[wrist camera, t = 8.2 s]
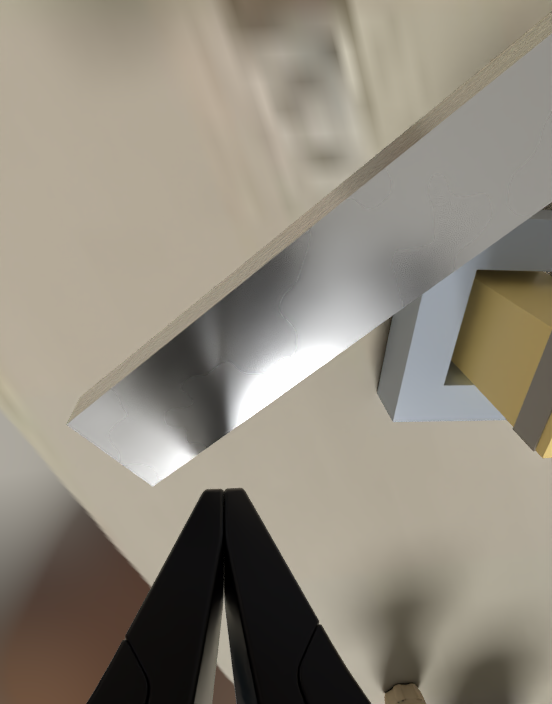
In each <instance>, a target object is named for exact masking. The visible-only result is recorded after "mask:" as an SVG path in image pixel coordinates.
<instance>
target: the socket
mask: <svg viewBox="0 0 552 704" xmlns="http://www.w3.org/2000/svg"><path fill="white" fill-rule="evenodd" d="M477 270H510V271H546V272H552V210H540V211H539V212H537V213H536V214H534V215H533V216H532V217H530V218H529V219H527V220H526V221H525V222H523V223H522V224H520V225H519V226H518V227H516V228H515V229H513V230H512V231H511V232H509V233H508V234H506V235H505V236H504V237H502V238H501V239H499V240H498V241H497V242H495V243H494V244H492V245H491V246H490V247H488V248H487V249H485V250H484V251H483V252H481V253H480V254H478V255H477V256H476V257H474V258H473V259H471V260H470V261H468V262H467V263H466V264H464V265H463V266H461V267H460V268H459V269H457V270H456V271H454V272H453V273H452V274H450V275H449V276H447V277H446V278H445V279H443V280H442V281H440V282H439V283H438V284H436V285H435V286H433V287H432V288H431V289H429V290H428V291H426V292H425V293H424V294H422V295H421V296H419V297H418V298H417V299H415V300H414V301H412V302H411V303H410V304H408V305H407V306H405V307H404V308H403V309H401V310H400V311H398V312H397V313H396V314H394V315H393V317H392V322H391V327H390V332H389V337H388V342H387V347H386V352H385V356H384V361H383V366H382V371H381V376H380V381H379V386H378V391H377V394H378V396H379V398H380V400H381V401H382V403H383V405H384V407H385V409H386V410H387V412H388V414H389V416H390V418H391V419H392V421H393V422H419V421H475V420H507V419H506V418H505V417H504V416H503V415H502V414H501V413H500V412H499V411H498V410H497V409H496V408H495V407H494V406H493V405H492V403H491V402H490V401H489V400H488V399H487V398H486V397H485V396H484V395H483V394H482V393H481V392H480V391H479V390H478V389H477V387H476V386H475V385H474V384H473V383H472V382H471V381H470V380H469V379H468V378H467V377H466V376H465V375H464V374H463V372H462V371H461V370H460V369H459V368H458V367H457V366H456V365H455V364H454V363H453V362H452V361H451V358H452V355H453V351H454V348H455V344H456V341H457V337H458V334H459V330H460V327H461V323H462V320H463V316H464V313H465V309H466V306H467V302H468V299H469V295H470V292H471V288H472V285H473V281H474V278H475V274H476V271H477Z"/></svg>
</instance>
